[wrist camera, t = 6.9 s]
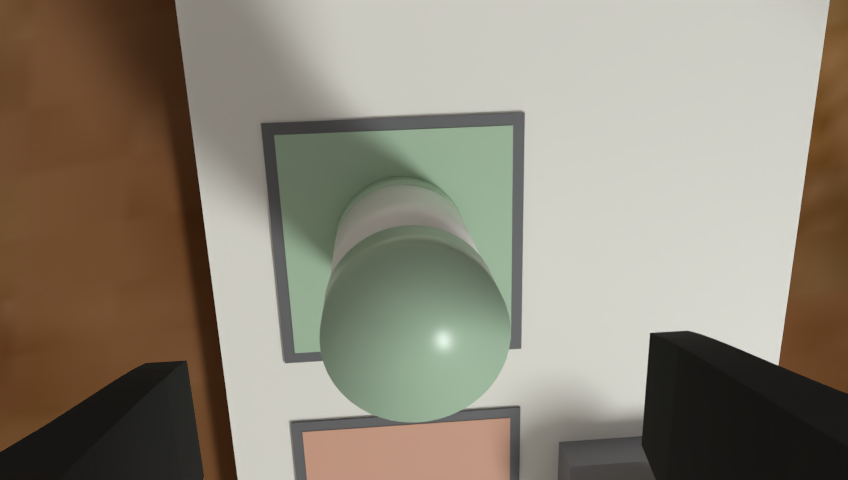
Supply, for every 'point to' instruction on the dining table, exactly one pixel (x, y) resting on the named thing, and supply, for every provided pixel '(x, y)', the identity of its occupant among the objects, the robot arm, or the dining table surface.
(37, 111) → the dining table surface
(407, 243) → the green bulb-shaped piece
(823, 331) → the dining table surface
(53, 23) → the dining table surface
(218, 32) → the colouring board
